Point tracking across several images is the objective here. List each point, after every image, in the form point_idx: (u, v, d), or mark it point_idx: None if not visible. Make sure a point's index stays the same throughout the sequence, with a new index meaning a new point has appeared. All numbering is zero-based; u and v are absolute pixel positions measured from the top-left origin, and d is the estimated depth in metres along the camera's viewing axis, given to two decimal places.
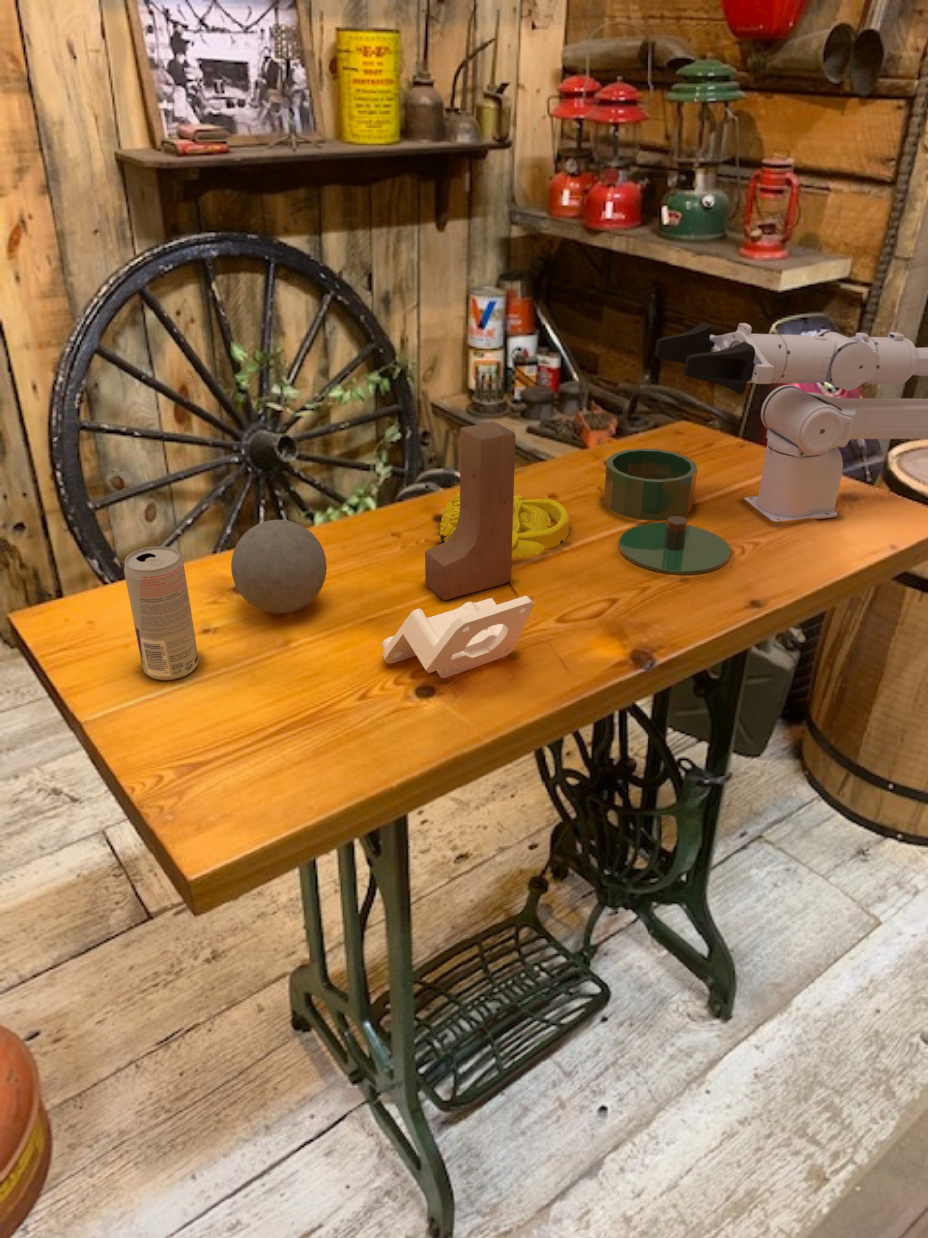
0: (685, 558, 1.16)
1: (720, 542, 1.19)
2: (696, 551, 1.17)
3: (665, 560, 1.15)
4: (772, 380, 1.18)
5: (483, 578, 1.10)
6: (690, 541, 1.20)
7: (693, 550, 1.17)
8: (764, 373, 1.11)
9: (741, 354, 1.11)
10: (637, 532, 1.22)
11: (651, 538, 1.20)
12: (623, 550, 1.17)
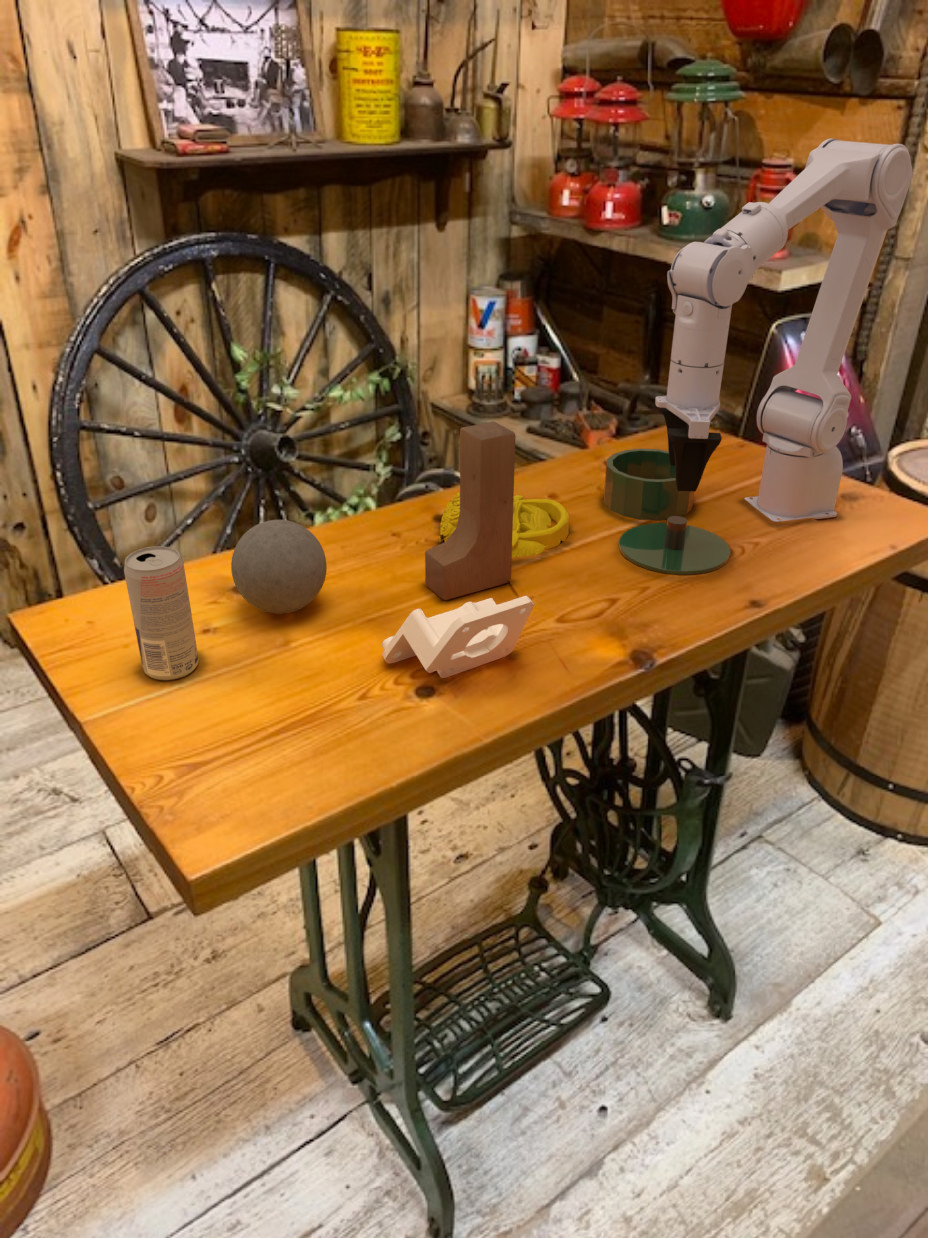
0: (685, 558, 1.16)
1: (720, 542, 1.19)
2: (696, 551, 1.17)
3: (665, 560, 1.15)
4: (718, 370, 1.06)
5: (483, 578, 1.10)
6: (690, 541, 1.20)
7: (693, 550, 1.17)
8: (697, 431, 1.04)
9: (677, 447, 1.07)
10: (637, 532, 1.22)
11: (651, 538, 1.20)
12: (623, 550, 1.17)
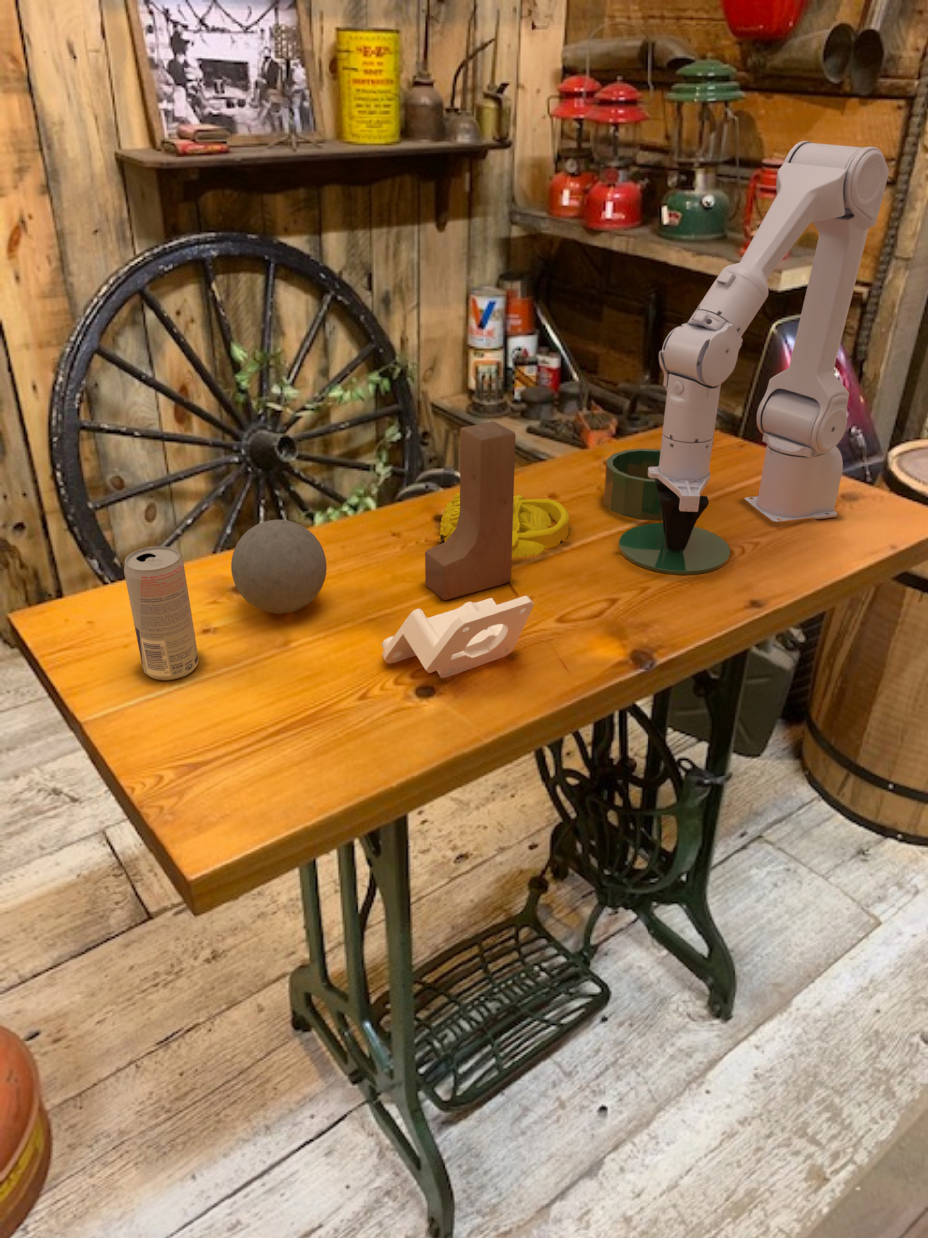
0: (685, 558, 1.16)
1: (720, 542, 1.19)
2: (696, 551, 1.17)
3: (665, 560, 1.15)
4: (708, 444, 1.10)
5: (483, 578, 1.10)
6: (690, 541, 1.20)
7: (693, 550, 1.17)
8: (688, 504, 1.08)
9: (666, 510, 1.13)
10: (637, 532, 1.22)
11: (651, 538, 1.20)
12: (623, 550, 1.17)
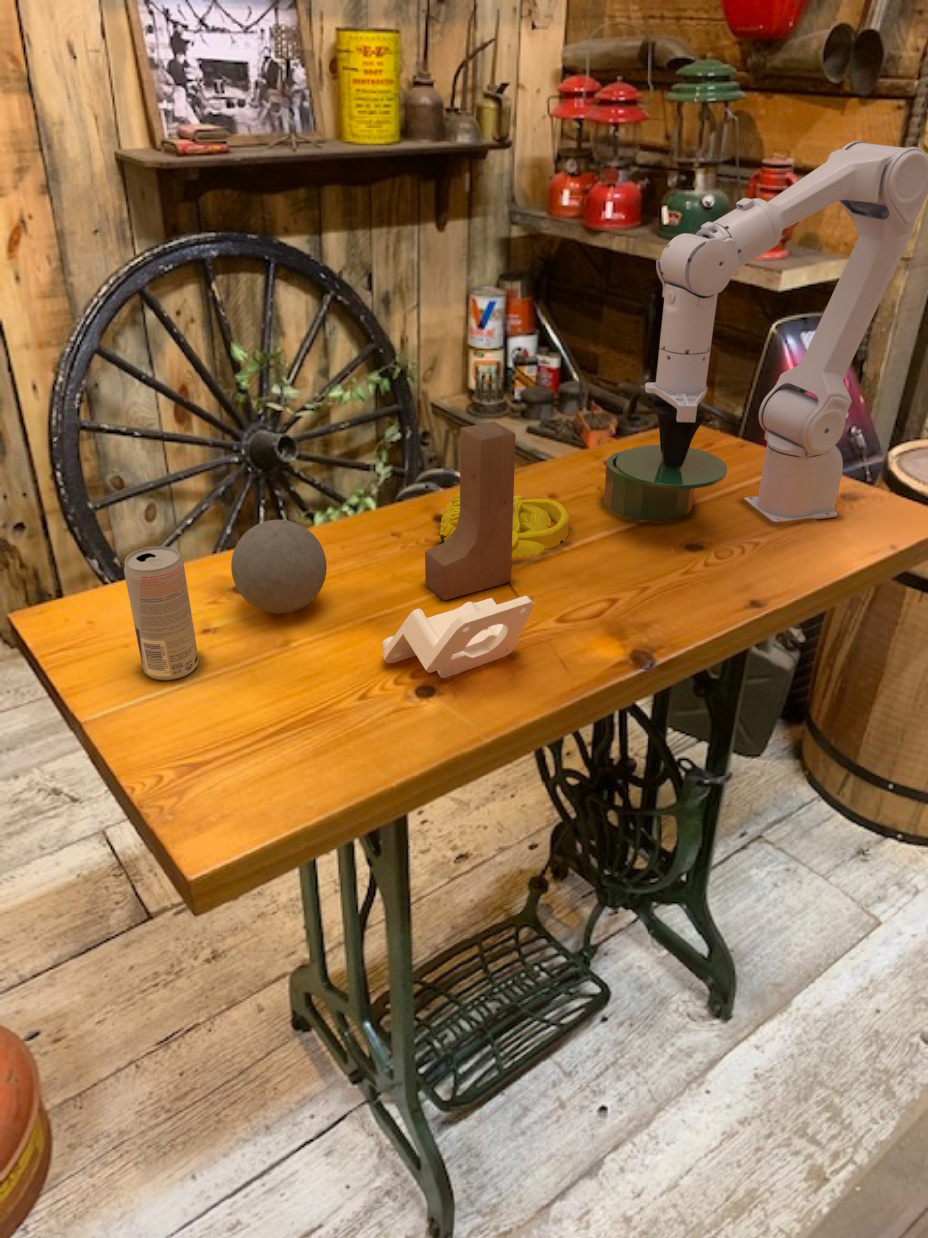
0: (682, 474, 1.16)
1: (717, 460, 1.20)
2: (693, 468, 1.18)
3: (662, 476, 1.16)
4: (705, 357, 1.11)
5: (483, 578, 1.10)
6: (687, 460, 1.20)
7: (690, 468, 1.18)
8: (685, 415, 1.08)
9: (664, 424, 1.13)
10: (634, 453, 1.22)
11: (648, 457, 1.21)
12: (620, 468, 1.18)
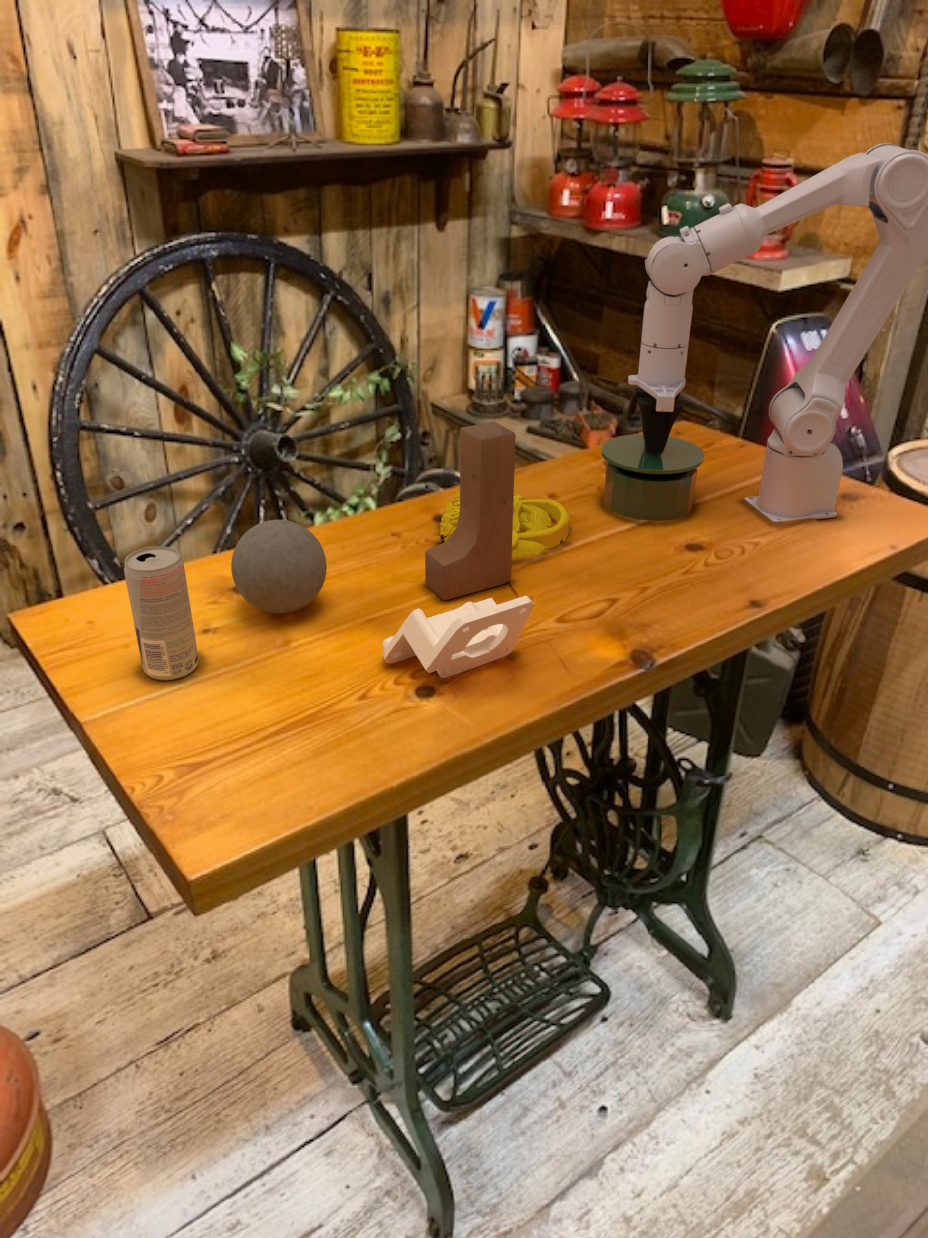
0: (662, 460, 1.25)
1: (695, 448, 1.28)
2: (673, 455, 1.26)
3: (643, 462, 1.24)
4: (683, 351, 1.19)
5: (483, 578, 1.10)
6: (668, 448, 1.29)
7: (670, 455, 1.26)
8: (664, 404, 1.17)
9: (645, 413, 1.22)
10: (619, 441, 1.31)
11: (631, 445, 1.29)
12: (605, 454, 1.26)
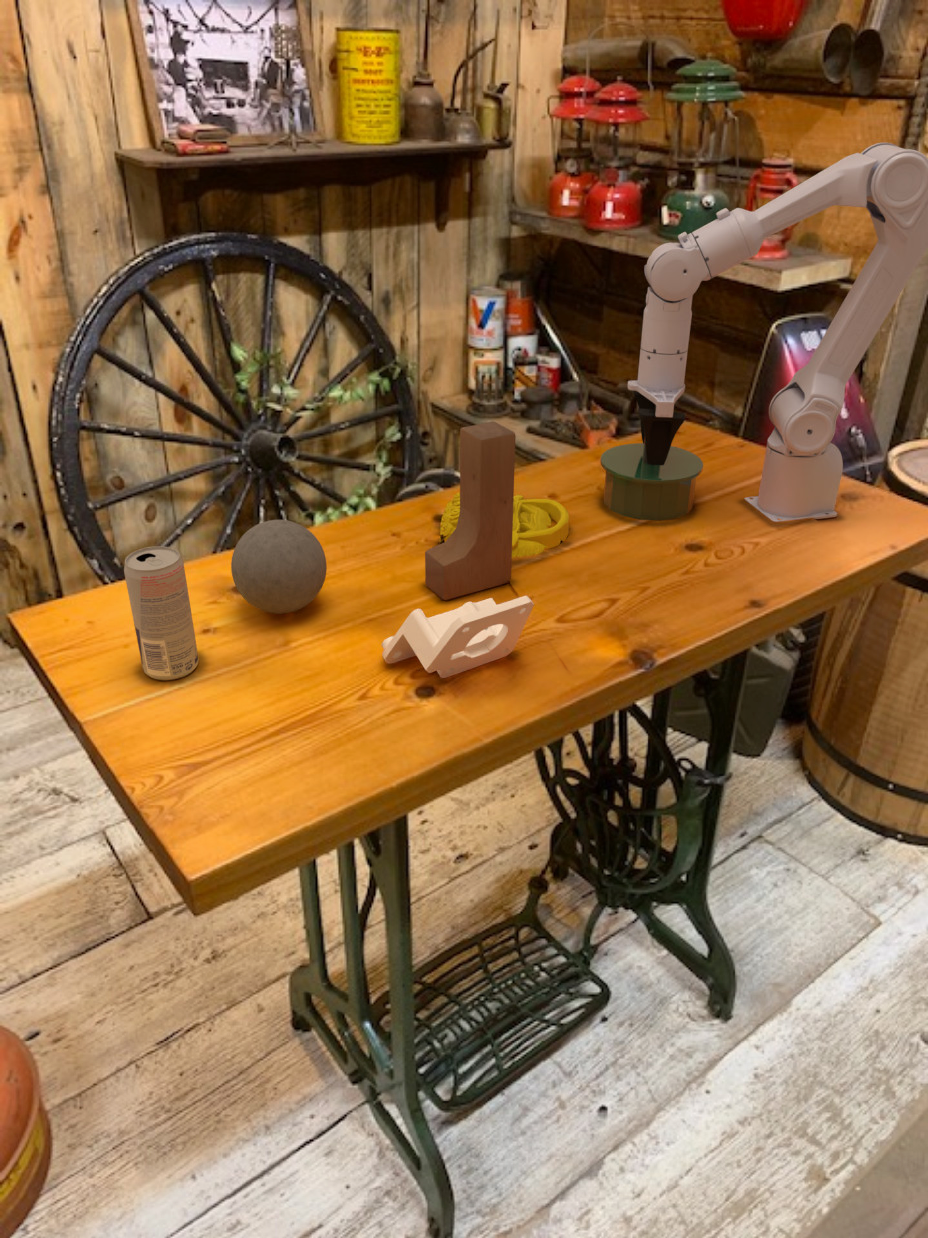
0: (661, 470, 1.25)
1: (694, 458, 1.29)
2: (672, 465, 1.27)
3: (642, 471, 1.25)
4: (682, 357, 1.19)
5: (483, 578, 1.10)
6: None
7: (669, 464, 1.27)
8: (663, 410, 1.17)
9: (646, 425, 1.20)
10: (618, 450, 1.31)
11: (630, 455, 1.30)
12: (604, 464, 1.27)
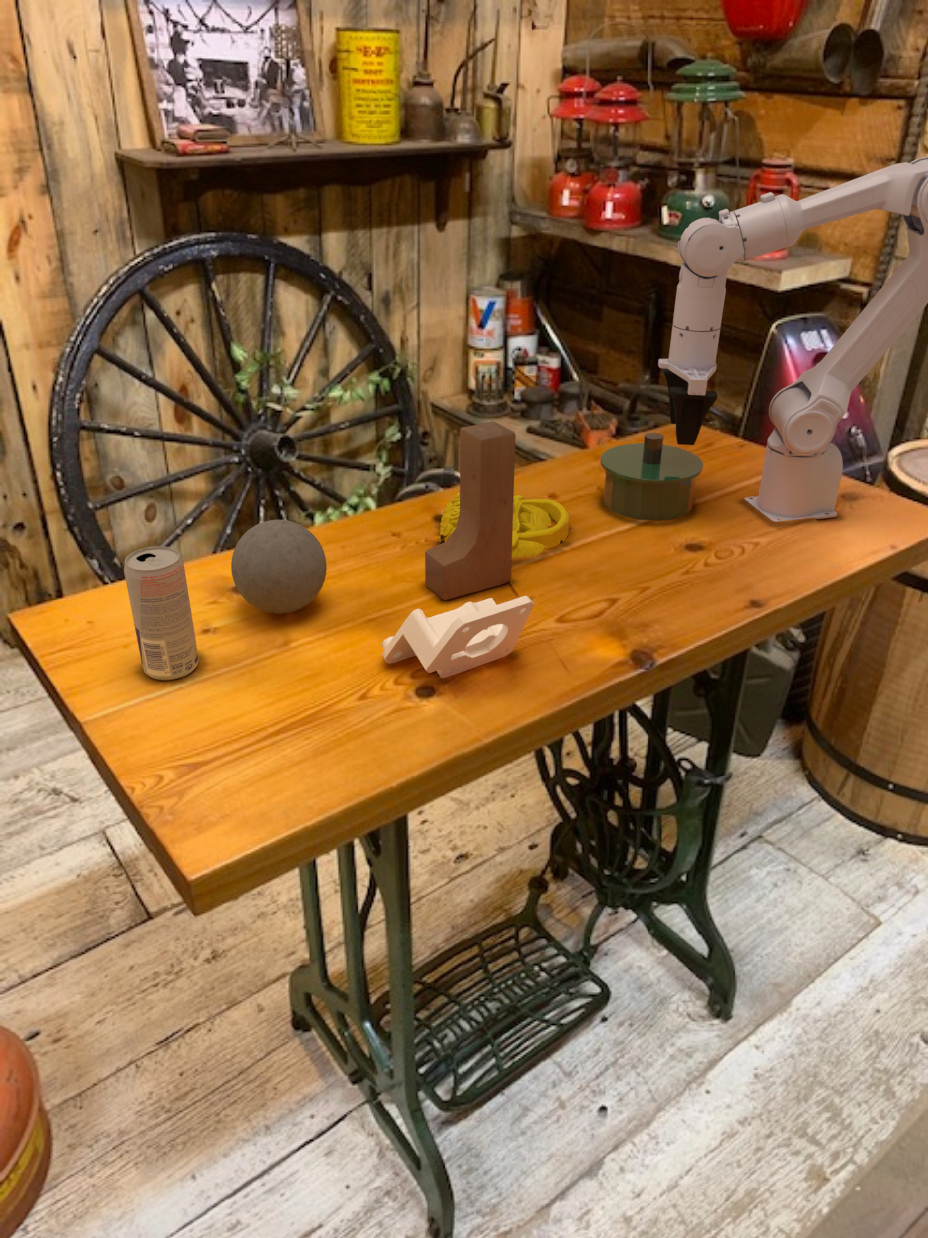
0: (661, 470, 1.25)
1: (694, 458, 1.29)
2: (672, 465, 1.27)
3: (642, 471, 1.25)
4: (715, 334, 1.18)
5: (483, 578, 1.10)
6: (666, 457, 1.29)
7: (669, 464, 1.27)
8: (696, 388, 1.16)
9: (677, 403, 1.19)
10: (618, 450, 1.31)
11: (630, 455, 1.30)
12: (604, 464, 1.27)
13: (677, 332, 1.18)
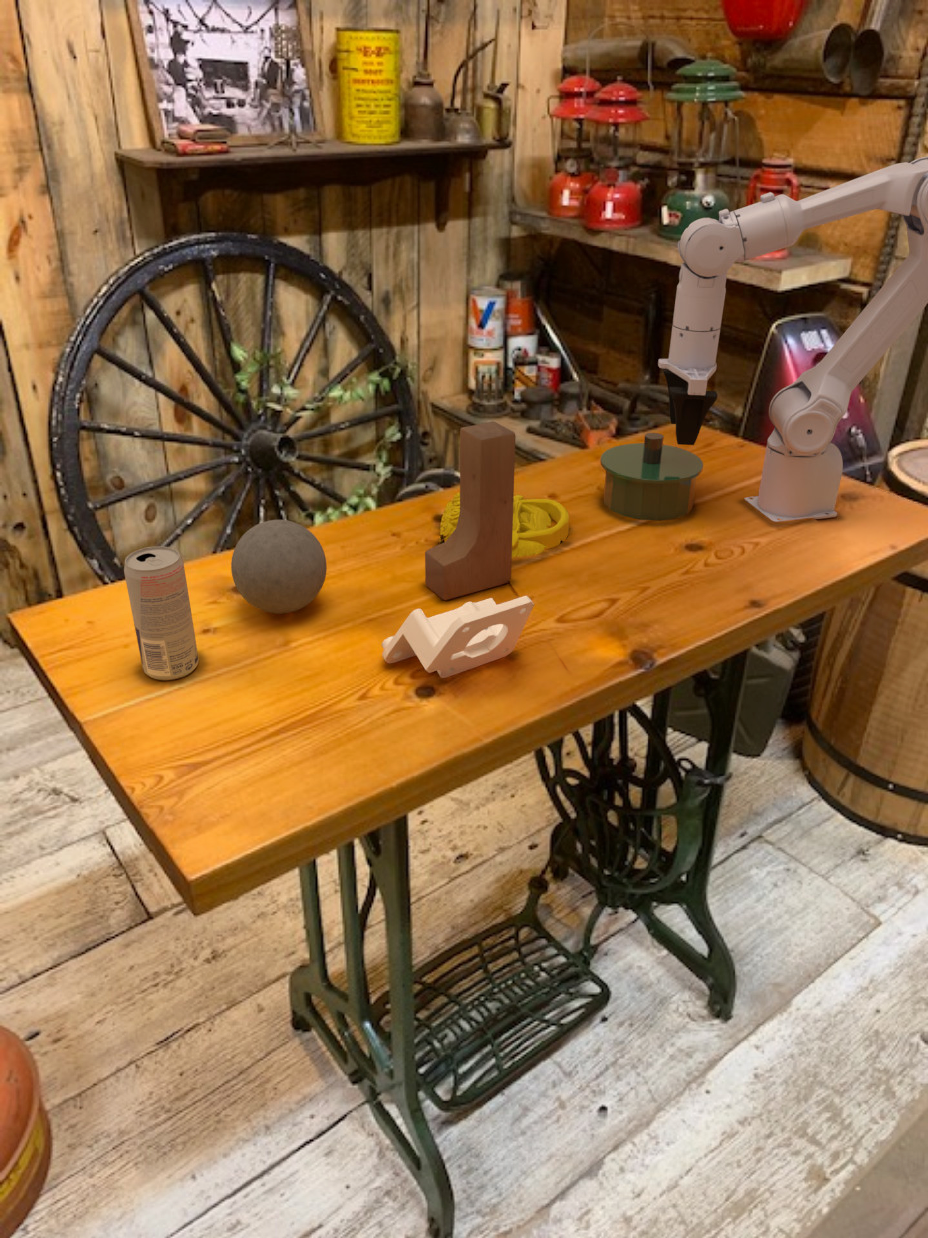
0: (661, 470, 1.25)
1: (694, 458, 1.29)
2: (672, 465, 1.27)
3: (642, 471, 1.25)
4: (715, 334, 1.18)
5: (483, 578, 1.10)
6: (666, 457, 1.29)
7: (669, 464, 1.27)
8: (696, 388, 1.16)
9: (677, 403, 1.19)
10: (618, 450, 1.31)
11: (630, 455, 1.30)
12: (604, 464, 1.27)
13: (677, 332, 1.18)
